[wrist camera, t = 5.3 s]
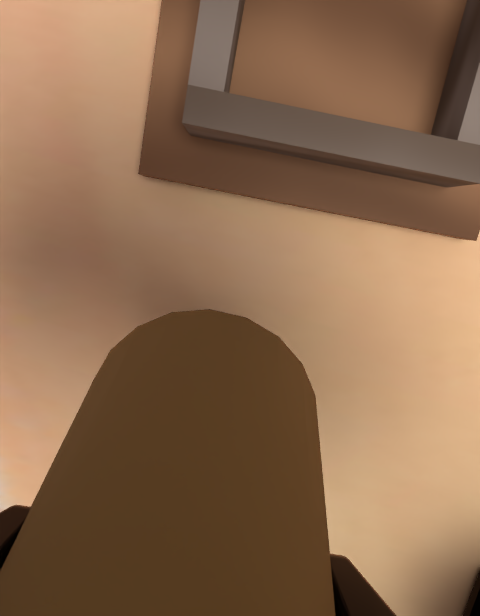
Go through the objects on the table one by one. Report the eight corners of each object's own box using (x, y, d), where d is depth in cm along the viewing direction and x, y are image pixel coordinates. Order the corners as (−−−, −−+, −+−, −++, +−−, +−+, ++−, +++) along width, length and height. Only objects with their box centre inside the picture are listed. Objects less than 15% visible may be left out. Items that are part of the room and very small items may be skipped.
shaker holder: (464, 239, 19) (513, 245, 15) (144, 175, 18) (121, 167, 15) (579, -143, 16) (673, -242, 12) (200, -233, 15) (188, -362, 12)
